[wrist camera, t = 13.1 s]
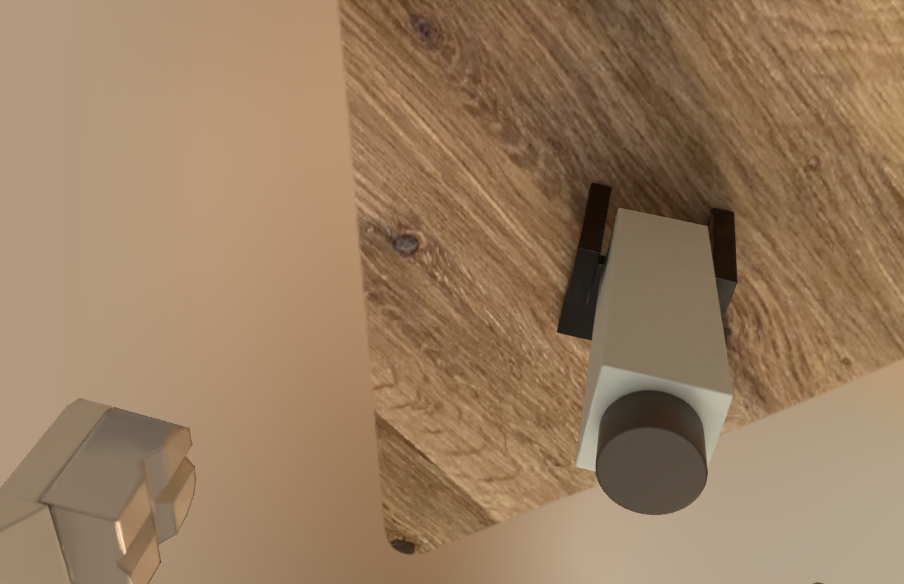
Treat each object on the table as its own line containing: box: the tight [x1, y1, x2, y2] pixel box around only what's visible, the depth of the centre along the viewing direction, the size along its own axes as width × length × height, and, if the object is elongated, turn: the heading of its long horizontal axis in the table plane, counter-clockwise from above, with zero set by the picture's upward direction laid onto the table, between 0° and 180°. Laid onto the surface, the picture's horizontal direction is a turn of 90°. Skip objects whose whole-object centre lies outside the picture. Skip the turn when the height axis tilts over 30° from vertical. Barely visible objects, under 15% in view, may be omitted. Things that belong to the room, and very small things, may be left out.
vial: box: [575, 208, 733, 515], centre depth 32 cm, size 16×4×4 cm
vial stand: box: [557, 183, 737, 340], centre depth 41 cm, size 9×7×6 cm
